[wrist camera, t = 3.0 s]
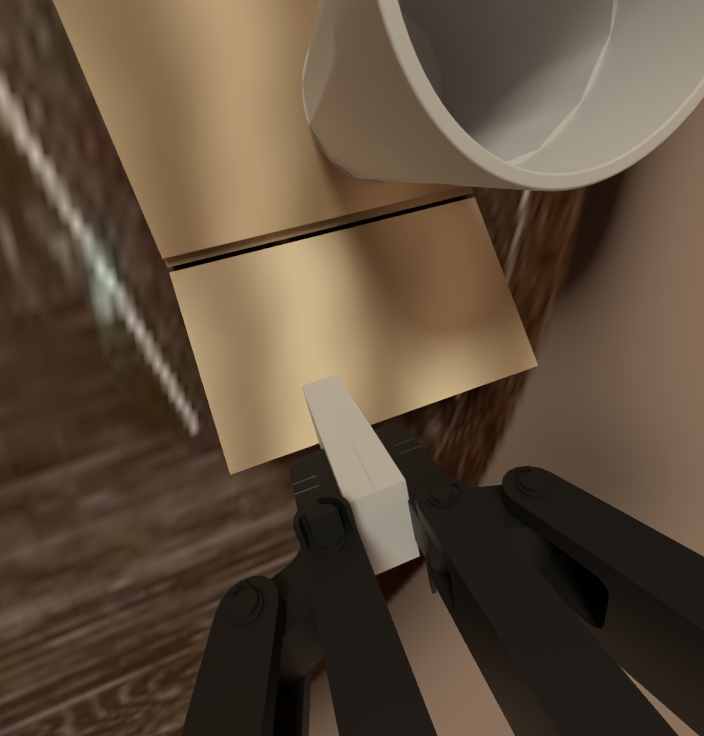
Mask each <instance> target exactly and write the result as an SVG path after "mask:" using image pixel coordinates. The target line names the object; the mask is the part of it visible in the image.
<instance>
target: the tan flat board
mask: <svg viewBox="0 0 704 736" xmlns="http://www.w3.org/2000/svg"><path fill="white" fill-rule="evenodd" d="M319 1H320V0H53V2H54V4H55V6H56V9H57V11H58V14H59V16H60V18H61V21H62V23H63V25H64V28H65V30H66V32H67V35H68V37H69V39H70V42H71V44H72V47H73V49H74V51H75V54H76V56H77V58H78V61H79V63H80V65H81V68H82V70H83V72H84V75H85V77H86V79H87V82H88V84H89V87H90V89H91V91H92V94H93V96H94V98H95V101H96V103H97V105H98V108H99V110H100V112H101V115H102V117H103V120H104V122H105V124H106V127H107V129H108V131H109V134H110V136H111V138H112V141H113V143H114V145H115V148H116V150H117V153H118V155H119V157H120V160H121V162H122V164H123V167H124V169H125V171H126V174H127V176H128V178H129V181H130V183H131V186H132V188H133V190H134V193H135V195H136V197H137V200H138V202H139V204H140V207H141V209H142V211H143V214H144V216H145V218H146V221H147V223H148V226H149V228H150V230H151V233H152V235H153V237H154V240H155V242H156V244H157V247H158V249H159V251H160V254H161V256H162V259H164V260H165V262H166V264H167V267H172V266H176V265H180V264H185V263H189V262H193V261H197V260H201V259H205V258H209V257H213V256H217V255H221V254H225V253H229V252H234V251H238V250H242V249H246V248H250V247H254V246H258V245H262V244H266V243H270V242H274V241H278V240H283V239H287V238H291V237H295V236H299V235H303V234H307V233H311V232H315V231H319V230H323V229H328V228H332V227H336V226H340V225H344V224H348V223H352V222H356V221H360V220H364V219H368V218H372V217H377V216H381V215H385V214H389V213H393V212H397V211H401V210H405V209H409V208H413V207H417V206H422V205H426V204H430V203H434V202H438V201H442V200H446V199H450V198H454V197H458V196H462V195H466V194H471V193H473V188H472V186H458V185H451V184H433V183H394V182H384V183H369V182H364V181H360V180H357V179H354V178H352V177H350V176H348V175H346V174H345V173H343V172H342V171H340V170H339V169H338V168H336V167H335V166H334V165H333V164H332V163H331V162H330V161H329V160H328V159H327V157H326V156H325V155H324V154H323V152H322V151H321V150H320V148H319V146H318V145H317V143H316V141H315V139H314V137H313V135H312V133H311V131H310V128H309V125H308V122H307V119H306V115H305V111H304V105H303V97H302V76H303V68H304V63H305V59H306V55H307V52H308V49H309V46H310V44H311V40H312V35H313V30H314V25H315V20H316V15H317V11H318V6H319Z"/></svg>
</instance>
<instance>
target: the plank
mask: <svg viewBox="0 0 704 736" xmlns="http://www.w3.org/2000/svg"><path fill="white" fill-rule="evenodd" d="M170 277H171V280H172V283H173V286H174V290H175V293H176V296H177V300H178V303H179V306H180V310H181V313H182V316H183V320H184V323H185V326H186V329H187V333H188V336H189V339H190V343H191V346H192V349H193V353H194V356H195V359H196V363H197V366H198V369H199V372H200V376H201V379H202V382H203V386H204V389H205V392H206V396H207V399H208V402H209V406H210V409H211V412H212V415H213V419H214V422H215V425H216V429H217V432H218V435H219V439H220V442H221V445H222V449H223V452H224V455H225V458H226V462H227V465H228V468H229V472H230V475H231V474H234V473H236V472H239V471H242V470H245V469H248V468H251V467H253V466H256V465H259V464H262V463H265V462H267V461H270V460H273V459H276V458H279V457H282V456H284V455H287V454H290V453H293V452H296V451H298V450H301V449H304V448H307V447H310V446H313V445H315V444H318V443H319V442H318V438H317V435H316V432H315V429H314V425H313V422H312V419H311V416H310V412H309V409H308V406H307V402H306V399H305V396H304V393H303V389H302V385H305V384H308V383H312V382H315V381H318V380H321V379H324V378H327V377H330V376H333V375H337V374H338V376H339V377H340V379H341V380H342V382H343V384H344V385H345V387H346V388H347V390H348V391H349V393H350V394H351V396H352V398H353V399H354V401H355V402H356V404H357V405H358V407H359V408H360V410H361V412H362V413H363V415H364V416H365V418H366V419H367V421H368V422H369V424H370V425H372V424H375V423H377V422H380V421H383V420H386V419H389V418H392V417H394V416H397V415H400V414H403V413H406V412H409V411H411V410H414V409H417V408H420V407H423V406H425V405H428V404H431V403H434V402H437V401H440V400H442V399H445V398H448V397H451V396H454V395H456V394H459V393H462V392H465V391H468V390H471V389H473V388H476V387H479V386H482V385H485V384H488V383H490V382H493V381H496V380H499V379H502V378H504V377H507V376H510V375H513V374H516V373H519V372H521V371H524V370H527V369H530V368H533V367H535V366H538V364H537V362H536V359H535V356H534V354H533V351H532V348H531V346H530V343H529V340H528V338H527V335H526V332H525V330H524V327H523V324H522V322H521V319H520V316H519V314H518V311H517V308H516V306H515V303H514V300H513V298H512V295H511V293H510V290H509V287H508V285H507V282H506V279H505V277H504V274H503V271H502V269H501V266H500V263H499V261H498V258H497V255H496V253H495V250H494V247H493V245H492V242H491V239H490V237H489V234H488V231H487V229H486V226H485V223H484V221H483V218H482V215H481V213H480V210H479V207H478V205H477V202H476V199H475V197H473V198H469V199H465V200H461V201H457V202H453V203H449V204H445V205H441V206H437V207H432V208H428V209H424V210H420V211H416V212H412V213H408V214H404V215H400V216H396V217H392V218H388V219H384V220H380V221H376V222H372V223H368V224H364V225H360V226H356V227H352V228H348V229H344V230H339V231H335V232H331V233H327V234H323V235H319V236H315V237H311V238H307V239H303V240H299V241H295V242H291V243H287V244H283V245H279V246H275V247H271V248H267V249H263V250H259V251H255V252H251V253H246V254H242V255H238V256H234V257H230V258H226V259H222V260H218V261H214V262H210V263H206V264H202V265H198V266H194V267H190V268H186V269H182V270H178V271H174V272H170Z"/></svg>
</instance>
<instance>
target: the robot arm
mask: <svg viewBox="0 0 704 736" xmlns="http://www.w3.org/2000/svg"><path fill="white" fill-rule="evenodd" d="M302 389H303V393H304V396H305V399H306V402H307V406H308V409H309V412H310V416H311V419H312V422H313V425H314V429H315V432H316V435H317V438H318V442H319V444H320V447H321V450H318V451H315V452H313V453H310V454H307V455H304V456H301V457H298V458H296V459H294V461H293V464H292V467H291V470H290V475H291V479H292V484H293V489H294V494H295V499H296V504H297V509H298V511H297V513H296V514H295V516H294V523H293V528H294V530H295V533H296V535H297V538H298V541H299V543H300V546H301V548H300V550H299V552H298V554H297V556H296V557H295V558H294V560H293V561H292V562H291V563H290V564H289V565H288V566H287V567H286V568H285V569H283V570H282V571H281V572H279V573H278V574H277V575H276V576H274V577H273V578H272V579H268V578H267V577H265V576H252V577H249V578H247V579H244V580H241V581H240V582H239V583H237V584H236V585H235V586H233V587H232V588H231V589H230V590H229V591H228V592H227V593H226V595H225V596H224V597H223V598H222V600H221V602H220V604H219V606H218V608H217V611H216V613H215V616H214V620H213V623H212V627H211V630H210V634H209V638H208V641H207V645H206V648H205V652H204V655H203V659H202V663H201V666H200V670H199V673H198V677H197V680H196V684H195V688H194V691H193V695H192V698H191V702H190V705H189V709H188V712H187V716H186V720H185V723H184V727H183V730H182V734H181V736H309V713H310V689H311V669H312V668H313V667H314V666H315V665H316V664H317V663H318V662H319V661H320V660H321V659H322V658H323V657H324V661H325V666H326V671H327V676H328V681H329V686H330V691H331V696H332V701H333V706H334V711H335V717H336V722H337V726H338V732H339V736H437V734H436V731H435V728H434V726H433V723H432V721H431V719H430V716H429V713H428V710H427V708H426V705H425V703H424V700H423V697H422V695H421V693H420V690H419V687H418V685H417V682H416V679H415V677H414V674H413V672H412V669H411V666H410V664H409V661H408V659H407V656H406V654H405V651H404V649H403V646H402V643H401V641H400V638H399V636H398V633H397V630H396V628H395V625H394V623H393V620H392V617H391V615H390V612H389V610H388V607H387V605H386V602H385V599H384V597H383V594H382V592H381V589H380V586H379V584H378V581H377V579H376V576H375V575H377V574H379V573H382V572H384V571H386V570H389V569H391V568H393V567H395V566H398V565H400V564H402V563H405V562H407V561H409V560H412V559H414V558H416V557H419V556H420V555H419V550H418V546H419V548H420V550H421V551H422V553H423V555H424V557H425V559H426V564H427V570H428V576H429V581H430V586H431V589H432V593H433V594H434V593H436V588H437V590H438V592H439V594H440V596H441V598H442V599H443V601H444V603H445V605H446V607H447V609H448V611H449V613H450V614H451V616H452V618H453V620H454V622H455V624H456V626H457V627H458V630H459V631H460V633H461V635H462V637H463V639H464V641H465V643H466V644H467V646H468V648H469V650H470V652H471V654H472V656H473V658H474V659H475V661H476V663H477V665H478V667H479V669H480V671H481V673H482V674H483V676H484V678H485V680H486V682H487V684H488V686H489V688H490V689H491V691H492V693H493V695H494V697H495V699H496V701H497V703H498V704H499V706H500V708H501V710H502V712H503V714H504V716H505V718H506V719H507V721H508V723H509V725H510V727H511V729H512V731H513V732H514V734H515V736H678V735H677V733H676V732H675V731H674V730H673V729H672V728H671V726H670V725H669V724H668V723H667V722H666V721H665V719H664V718H663V717H662V716H661V715H660V714H659V712H658V711H657V710H656V709H655V708H654V706H653V705H652V704H651V703H650V702H649V701H648V699H647V698H646V697H645V696H644V695H643V694H642V692H641V691H640V690H639V689H638V688H637V687H636V685H635V684H634V683H633V682H632V681H631V679H630V678H629V677H628V676H627V675H626V674H625V672H624V671H623V670H622V669H621V668H623V669H624V670H625V671H626V672H627V673H628V674H629V675H631V676H632V677H633V678H634V679H635V680H636V681H637V682H639V683H640V684H641V685H642V686H643V687H644V688H645V689H647V690H648V691H649V692H650V693H651V694H652V695H653V696H655V697H656V698H657V699H658V700H659V701H660V702H661V703H663V704H664V705H665V706H666V707H667V708H668V709H669V710H671V711H672V712H673V713H674V714H675V715H677V717H679V718H680V719H681V720H682V721H683V722H684V723H685V724H687V725H688V726H689V727H690V728H691V729H692V730H693V731H695V732H696V733H697V734H698V735H699V736H704V557H703V556H701V555H700V554H698V553H696V552H694V551H692V550H691V549H689V548H687V547H685V546H683V545H682V544H680V543H678V542H676V541H674V540H672V539H671V538H669V537H667V536H665V535H663V534H662V533H660V532H658V531H656V530H654V529H653V528H651V527H649V526H647V525H645V524H643V523H641V522H640V521H638V520H636V519H634V518H633V517H631V516H629V515H627V514H625V513H623V512H622V511H620V510H618V509H616V508H614V507H613V506H611V505H609V504H607V503H605V502H604V501H602V500H600V499H598V498H596V497H595V496H593V495H591V494H589V493H587V492H585V491H584V490H582V489H580V488H578V487H576V486H574V485H573V484H571V483H569V482H567V481H566V480H564V479H562V478H560V477H558V476H557V475H555V474H553V473H551V472H549V471H546V470H544V469H541V468H538V467H531V466H523V467H516V468H514V469H512V470H510V471H508V472H507V473H506V475H505V476H504V477H503V481H502V485H495V486H486V487H469V486H465V485H464V484H463V483H462V482H460V481H459V480H457V479H454V478H451V477H447V476H446V475H445V474H444V472H443V471H442V470H441V469H440V467H439V466H438V465H437V464H436V462H435V461H434V460H433V459H432V458H431V456H430V455H429V454H428V453H427V451H426V450H425V449H424V448H423V447H422V446H421V444H420V443H419V442H418V440H417V439H415V437H414V435H413V434H412V433H411V432H410V431H409V429H408V428H407V427H405V426H402V425H400V424H398V423H396V422H394V423H391V424H388V425H385V426H383V427H380V428H377V429H374V430H373V429H372V427H371V426H370V424H369V422H368V421H367V419H366V418H365V416H364V415H363V413H362V412H361V410H360V408H359V407H358V405H357V404H356V402H355V401H354V399H353V398H352V396H351V394H350V393H349V391H348V390H347V388H346V387H345V385H344V384H343V382H342V380H341V379H340V377H339V376H338V374H337V375H333V376H330V377H327V378H324V379H321V380H318V381H315V382H312V383H308V384H305V385H302ZM620 667H621V668H620Z"/></svg>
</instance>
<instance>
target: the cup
mask: <svg viewBox="0 0 704 736" xmlns="http://www.w3.org/2000/svg"><path fill="white" fill-rule="evenodd" d="M302 97H303V105H304V111H305V115H306V119H307V122H308V125H309V128H310V131H311V133H312V135H313V137H314V139H315V141H316V143H317V145H318V146H319V148H320V150H321V151H322V152H323V154H324V155H325V156H326V157H327V159H328V160H329V161H330V162H331V163H332V164H333V165H334V166H335V167H336V168H338V169H339V170H340V171H342V172H343V173H345V174H346V175H348V176H350V177H352V178H354V179H357V180H360V181H364V182H369V183H384V182H394V183H433V184H451V185H458V186H472V187H488V188H504V189H519V190H535V191H563V190H571V189H576V188H581V187H585V186H588V185H592V184H595V183H597V182H600V181H603V180H605V179H607V178H610V177H612V176H614V175H615V174H618V173H620V172H621V171H623V170H625V169H627V168H628V167H630V166H632V165H633V164H635V163H636V162H638V161H639V160H641V159H642V158H643V157H645V156H646V155H647V154H649V153H650V152H651V151H653V150H654V149H655V148H656V147H657V146H659V145H660V144H661V143H662V142H663V141H664V140H665V139H666V138H668V137H669V136H670V135H671V134H672V133H673V132H674V131H675V130H676V128H678V127H679V126H680V124H681V123H683V121H684V120H685V119H686V118H687V117H688V116H689V115H690V114H691V112H692V111H693V110H694V109H695V108H696V106H697V105H698V104H699V103H700V101H701V100H702V99H703V98H704V0H320V1H319V6H318V11H317V15H316V20H315V25H314V30H313V35H312V40H311V44H310V46H309V49H308V52H307V55H306V59H305V63H304V68H303V76H302Z"/></svg>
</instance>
